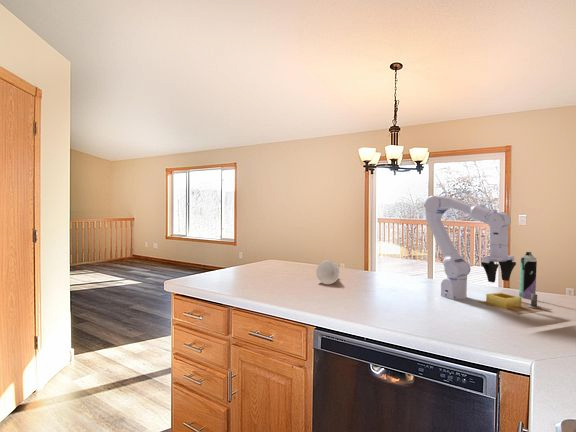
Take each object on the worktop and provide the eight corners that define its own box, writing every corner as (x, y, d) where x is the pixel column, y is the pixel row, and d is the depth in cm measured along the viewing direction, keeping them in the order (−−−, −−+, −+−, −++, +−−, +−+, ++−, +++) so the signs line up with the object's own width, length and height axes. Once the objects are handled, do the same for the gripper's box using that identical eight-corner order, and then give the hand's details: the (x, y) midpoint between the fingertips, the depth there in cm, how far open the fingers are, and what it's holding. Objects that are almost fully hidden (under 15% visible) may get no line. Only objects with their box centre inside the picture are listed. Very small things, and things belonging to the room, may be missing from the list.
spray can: (530, 302, 138) (532, 253, 138) (516, 299, 143) (517, 251, 143) (538, 301, 141) (539, 252, 140) (523, 297, 146) (525, 250, 145)
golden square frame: (506, 309, 124) (506, 299, 124) (486, 303, 132) (486, 294, 132) (521, 307, 127) (521, 297, 127) (500, 301, 135) (501, 292, 135)
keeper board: (518, 317, 118) (519, 300, 118) (477, 305, 133) (478, 289, 133) (552, 312, 125) (553, 296, 125) (509, 301, 140) (510, 286, 139)
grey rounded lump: (335, 258, 185) (327, 255, 168) (350, 273, 181) (344, 272, 164) (320, 273, 186) (311, 272, 169) (335, 289, 182) (327, 289, 165)
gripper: (495, 246, 121) (495, 284, 122) (522, 245, 127) (522, 281, 127) (477, 244, 128) (477, 281, 128) (504, 243, 134) (503, 278, 134)
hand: (498, 281), depth 128 cm, fingers open, 7 cm apart
